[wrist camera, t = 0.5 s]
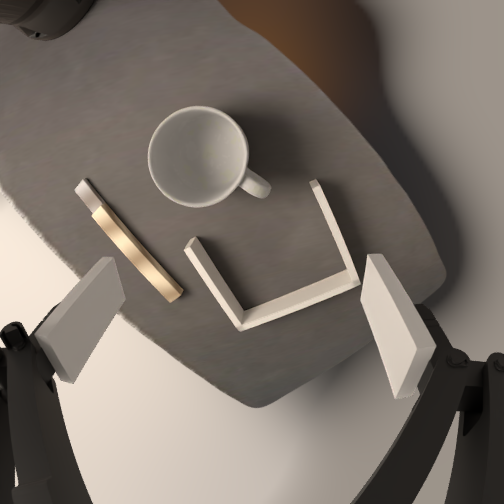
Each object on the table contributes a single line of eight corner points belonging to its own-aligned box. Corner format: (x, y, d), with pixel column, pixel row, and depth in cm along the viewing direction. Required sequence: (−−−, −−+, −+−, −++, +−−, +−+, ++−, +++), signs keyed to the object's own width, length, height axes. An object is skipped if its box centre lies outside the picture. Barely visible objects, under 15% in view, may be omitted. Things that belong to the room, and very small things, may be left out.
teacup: (155, 156, 37) (129, 167, 30) (204, 91, 33) (187, 85, 26) (235, 220, 41) (227, 245, 33) (290, 160, 37) (294, 171, 29)
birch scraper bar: (77, 188, 40) (71, 191, 39) (85, 178, 39) (80, 180, 38) (172, 297, 47) (170, 302, 45) (183, 289, 46) (181, 295, 45)
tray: (190, 239, 42) (183, 249, 39) (315, 178, 37) (319, 185, 34) (241, 317, 48) (239, 331, 44) (355, 271, 43) (361, 284, 39)
